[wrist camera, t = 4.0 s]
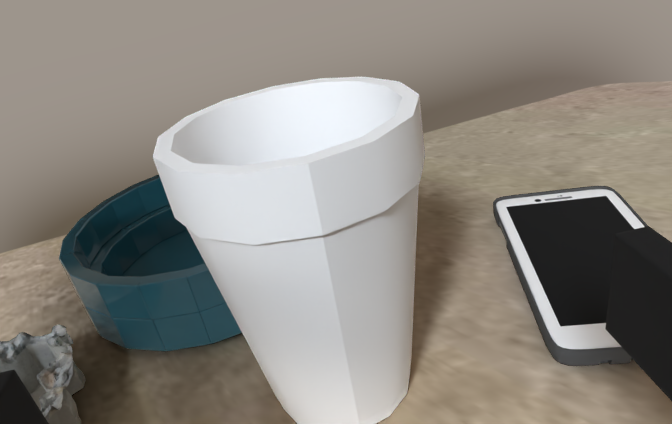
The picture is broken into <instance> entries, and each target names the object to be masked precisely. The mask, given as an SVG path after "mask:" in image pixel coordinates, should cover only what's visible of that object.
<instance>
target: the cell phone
mask: <svg viewBox="0 0 672 424" xmlns="http://www.w3.org/2000/svg"><path fill="white" fill-rule="evenodd" d="M493 211H494V216H495V219H496V222H497V224H498V226H500V227H501V229H502V232H503V234H504V237H505V239H506V241H507V249H508V251H509V254H510V256H511V259H512V261H513V264H514V266H515V269H516V271H517V274H518V276H519V279H520V281H521V284H522V286H523V289H524V291H525V294H526V296H527V299H528V301H529V304H530V306H531V309H532V311H533V314H534V316H535V319H536V321H537V324H538V326H539V329H540V331H541V334H542V336H543V339H544V341H545V344H546V346H547V348H548V350H549V351H550V353H551V355H552V356H553V358H554V359H555V360H556V361H558V362H560V363H562V364H565V365H571V366H589V365H599V363H609V364H620V363H630V360H631V359H632V358H631V356H630V355H629V354H628V353H627V352H626V351H625V350H624V349H623V348H622V347H621V346H620V345H619V343H618V342H617V341H616V340H615V339H614V338H613V337H612V336H611V335H610V334H609V333H608V331H607V330H606V329H605V328H606V318H607V308H608V298H609V288H610V279H611V269H612V259H613V249H614V239H615V233H620V232H624V231H629V230H633V229H638V228H642V227H646V226H648V225H647V224H646V223H645V222H644V221H643V220H642V219H641V218H640V217H639V215H638V214H637V213H636V212H635V211H634V210H633V209H632V208H631V206H630V205H629V204H628V203H627V202H626V201H625V200H624V199H623V198H622V196H621V195H620V194H619V193H617V192H616V191H615V190H614V189H613V188H610V187H608V186H591V187H581V188H572V189H563V190H555V191H546V192H537V193H528V194H519V195H511V196H504V197H500V198H497V199H496V200H495V201H494V202H493Z"/></svg>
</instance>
